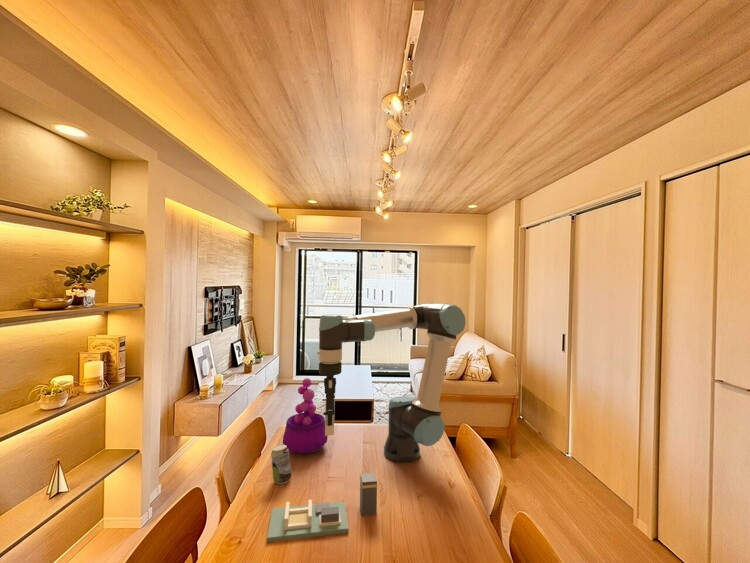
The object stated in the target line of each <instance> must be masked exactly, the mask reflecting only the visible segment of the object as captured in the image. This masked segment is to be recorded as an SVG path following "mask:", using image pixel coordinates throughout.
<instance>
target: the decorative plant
mask: <svg viewBox="0 0 750 563" xmlns="http://www.w3.org/2000/svg"><path fill="white" fill-rule="evenodd" d="M301 384H302V385H300V386H299V387H298V389H297V392H298V394H299V395H302V399H303V401H301V403H298V404H296V406H295V408H294V410H295V412H296V413H295V414H293V415H291V416H289V417H288V418H287V420H286V423H285V429H284V433H283V435H282V445H286V446H287V448H288V449H289V453H290V452H291V453H294V454H302V455H303V454H304V455H305V454H311V453H314V452H315V453H316V452H317V451H319V450H321V449H322V448H323V447H324V446H325V445H326V444H327V443H328V436H325V416H324V415H323V414H320V413H316V411H317V406H316V405H315V404H314V401H313V400H314V398H315V392H314V390H312V389H310V388H309V387H311V385H312V381H311V378H308V377H306V378H304V379H303V380H302V382H301Z"/></svg>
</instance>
